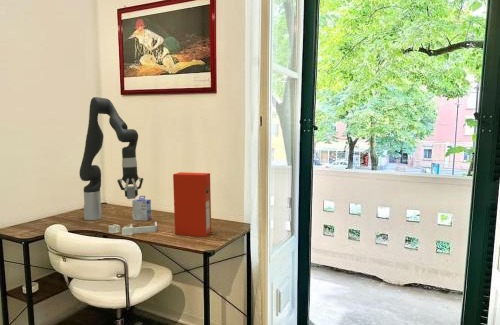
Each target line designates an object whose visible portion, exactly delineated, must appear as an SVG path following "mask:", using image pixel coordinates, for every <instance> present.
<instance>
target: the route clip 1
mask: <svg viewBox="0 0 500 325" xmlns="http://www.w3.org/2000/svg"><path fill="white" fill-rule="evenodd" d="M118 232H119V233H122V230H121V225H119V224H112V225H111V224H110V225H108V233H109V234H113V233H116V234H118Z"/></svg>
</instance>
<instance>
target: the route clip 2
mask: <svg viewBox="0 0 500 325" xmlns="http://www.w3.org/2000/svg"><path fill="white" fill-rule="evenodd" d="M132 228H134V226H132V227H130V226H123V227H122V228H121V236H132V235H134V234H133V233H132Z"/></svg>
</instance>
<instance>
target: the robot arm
mask: <svg viewBox="0 0 500 325" xmlns="http://www.w3.org/2000/svg"><path fill="white" fill-rule="evenodd" d="M99 114H100V115H108V116H109V119H108V122H109V125H110V126H111V127H112V130H114V132H115V135H116V137H117V140H118V141H119V142H121V143H128V145H127V146H123V147H122V148H121V154H122V155H121V156H122V157H121V159H122V160H121V162H122V163H121V166H122V177H121V178H119V179H117V181H116V182H117V183H118V186H119V188H120V190H121V191H124V196H125V197H126V199H127V187H128V186H129V185H132V186H134V187H135V198H137V197H138V195H139V191H138V190H141V188H142V185H143V182H144V178H143V177H139V175H138V160H137V145H138V140H139V133H138V131H137V130H135V128H134V129H133V128H130V129H129V128H128V124H127V123H126V122H125V121H124V120H123V119H122V118H121V116H120V115H119V112H118V111H117V109H116V108H115V105H114V103H112V101H111V100H110V99H109V98H105V97H97V96H94V97H92V98H91V99H90V102H89V111H88V115H89V116H88V124H87V125H88V126H87V133H86V136H85V146H84V151H83V156H82V160H81V165H80V167H79V178H80V180H81V181H82V182H89V183H88V184H87V185H85V186H84V187H83V200H84V202H83V215H84V216H83V218H84V221H95V220H100V219H102V201H101V200H102V199H101V187H102V170H101V168H100V166H99V165H97V164H93V162H94V159H95V158H96V156H97V155H98V153H100V151H101V149H102V148H103V144H104V133H103V131H102V128H101V126H100V124H99ZM137 181H139V185H138V186H137ZM122 182H124V183H125V185H124V186H123V183H122Z"/></svg>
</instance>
